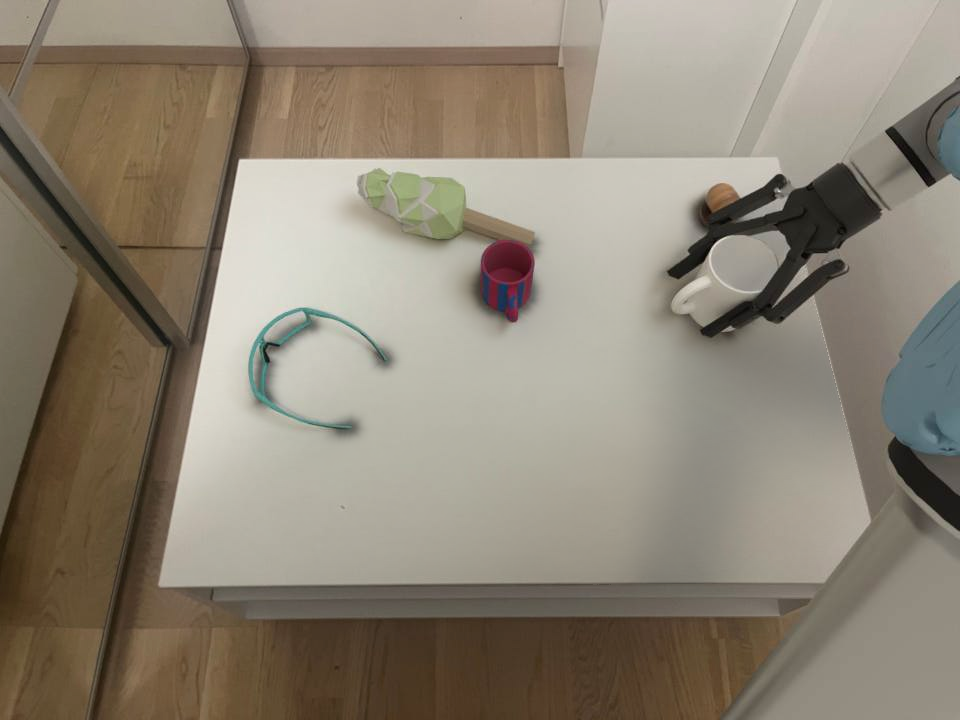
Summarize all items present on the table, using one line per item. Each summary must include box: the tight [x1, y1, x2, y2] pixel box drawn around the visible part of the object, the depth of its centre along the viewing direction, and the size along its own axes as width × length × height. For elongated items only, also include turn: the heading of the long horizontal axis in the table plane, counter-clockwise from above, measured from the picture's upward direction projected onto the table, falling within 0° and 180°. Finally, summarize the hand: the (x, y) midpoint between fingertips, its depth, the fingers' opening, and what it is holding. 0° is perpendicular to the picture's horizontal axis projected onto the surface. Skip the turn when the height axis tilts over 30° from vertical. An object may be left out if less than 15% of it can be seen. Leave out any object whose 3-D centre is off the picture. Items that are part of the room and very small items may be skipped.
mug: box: [670, 235, 780, 333], centre depth 83 cm, size 12×8×10 cm
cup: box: [480, 240, 536, 323], centre depth 85 cm, size 7×10×7 cm
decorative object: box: [356, 167, 536, 249], centre depth 90 cm, size 9×10×25 cm
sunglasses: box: [247, 307, 388, 430], centre depth 82 cm, size 14×15×5 cm
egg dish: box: [698, 182, 741, 229], centre depth 92 cm, size 6×5×5 cm
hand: (688, 304), depth 84 cm, fingers closed on mug, 8 cm apart
